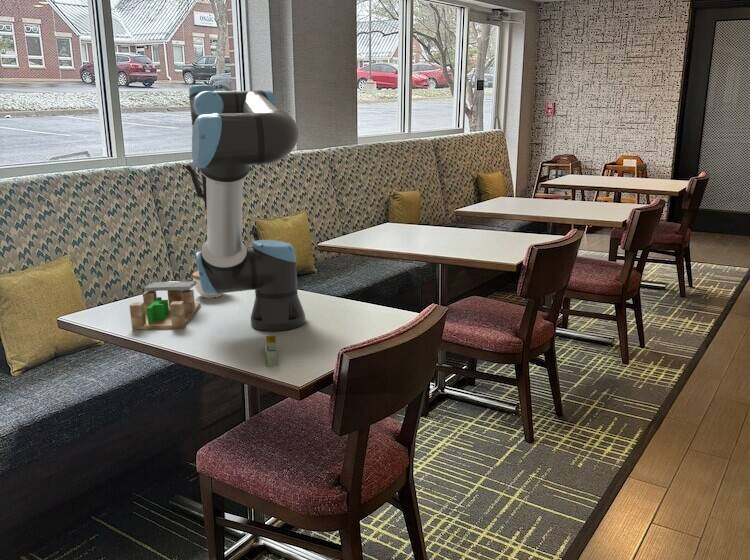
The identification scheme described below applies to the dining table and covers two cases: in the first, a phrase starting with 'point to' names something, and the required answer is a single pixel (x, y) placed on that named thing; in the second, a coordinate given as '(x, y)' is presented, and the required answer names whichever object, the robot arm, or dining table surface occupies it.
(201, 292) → the lidded jar
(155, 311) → the pipe clamp
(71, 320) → the dining table surface
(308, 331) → the dining table surface
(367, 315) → the dining table surface
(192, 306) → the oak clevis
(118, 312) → the dining table surface
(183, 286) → the plate
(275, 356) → the medication box
